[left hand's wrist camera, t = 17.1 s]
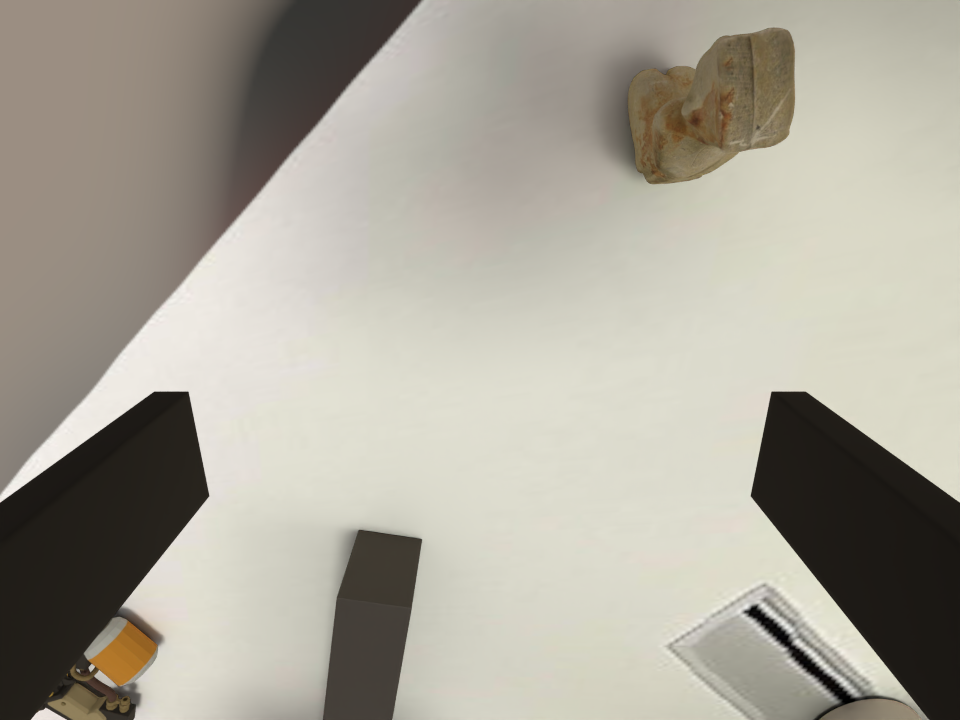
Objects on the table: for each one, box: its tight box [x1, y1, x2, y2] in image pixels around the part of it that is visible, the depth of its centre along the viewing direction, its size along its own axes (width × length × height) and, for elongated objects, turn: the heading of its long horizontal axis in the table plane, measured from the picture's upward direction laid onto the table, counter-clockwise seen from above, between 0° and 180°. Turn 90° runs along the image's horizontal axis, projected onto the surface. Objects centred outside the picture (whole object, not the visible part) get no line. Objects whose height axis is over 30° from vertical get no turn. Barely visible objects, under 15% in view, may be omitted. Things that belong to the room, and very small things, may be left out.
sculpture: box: [628, 28, 795, 184], centre depth 31 cm, size 6×7×15 cm
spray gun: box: [36, 617, 158, 720], centre depth 54 cm, size 4×17×15 cm
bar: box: [323, 530, 422, 720], centre depth 52 cm, size 28×6×8 cm, turn 170°
